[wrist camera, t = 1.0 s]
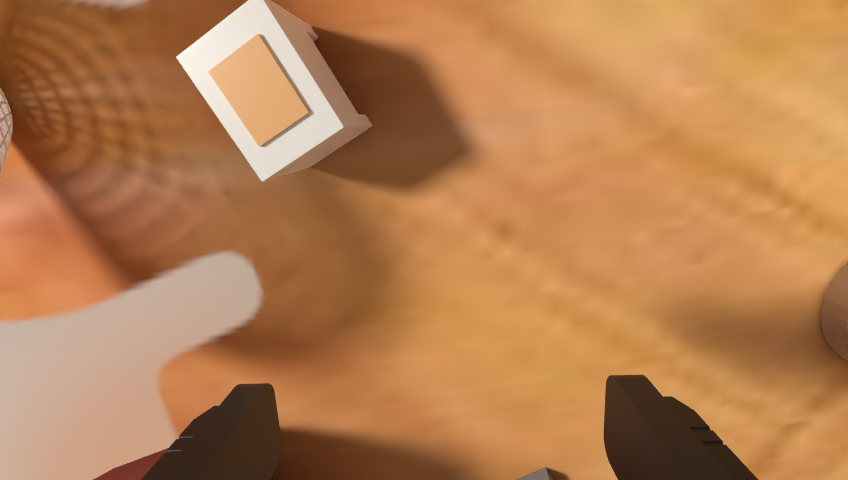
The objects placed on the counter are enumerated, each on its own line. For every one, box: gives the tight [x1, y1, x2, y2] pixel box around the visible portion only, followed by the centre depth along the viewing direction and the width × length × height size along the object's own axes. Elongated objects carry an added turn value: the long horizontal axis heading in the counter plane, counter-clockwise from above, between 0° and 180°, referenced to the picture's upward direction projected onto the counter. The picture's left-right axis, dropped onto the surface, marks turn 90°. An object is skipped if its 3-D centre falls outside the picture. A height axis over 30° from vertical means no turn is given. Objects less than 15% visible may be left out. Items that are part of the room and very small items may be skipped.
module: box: [176, 0, 373, 182], centre depth 24 cm, size 7×5×7 cm
